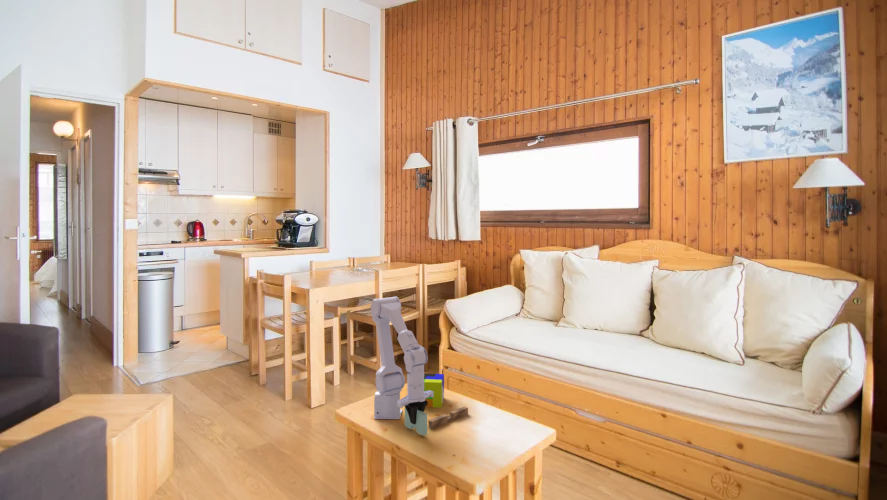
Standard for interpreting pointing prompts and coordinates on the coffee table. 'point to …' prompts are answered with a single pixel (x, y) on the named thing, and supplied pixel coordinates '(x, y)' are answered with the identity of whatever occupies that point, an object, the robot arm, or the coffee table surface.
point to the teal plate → (417, 422)
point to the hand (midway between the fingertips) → (415, 422)
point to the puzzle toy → (434, 389)
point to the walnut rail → (447, 417)
